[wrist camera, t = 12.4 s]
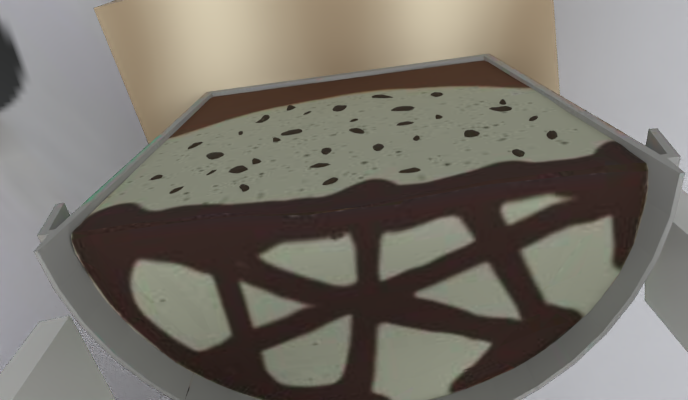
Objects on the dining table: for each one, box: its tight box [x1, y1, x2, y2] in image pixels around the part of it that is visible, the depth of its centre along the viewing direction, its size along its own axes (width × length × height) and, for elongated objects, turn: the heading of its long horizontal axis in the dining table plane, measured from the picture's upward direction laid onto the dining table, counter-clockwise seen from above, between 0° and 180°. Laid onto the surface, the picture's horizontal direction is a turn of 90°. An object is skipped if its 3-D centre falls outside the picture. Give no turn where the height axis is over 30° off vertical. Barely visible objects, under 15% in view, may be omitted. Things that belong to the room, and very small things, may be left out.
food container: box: [34, 54, 685, 400], centre depth 16 cm, size 12×6×10 cm, turn 98°
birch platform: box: [94, 0, 560, 144], centre depth 22 cm, size 14×14×5 cm
